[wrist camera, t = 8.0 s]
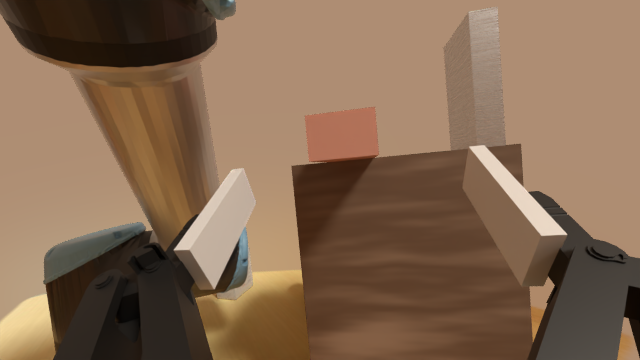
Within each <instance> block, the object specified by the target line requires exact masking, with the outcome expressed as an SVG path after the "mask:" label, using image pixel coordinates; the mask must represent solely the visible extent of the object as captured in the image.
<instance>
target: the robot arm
mask: <svg viewBox="0 0 640 360" xmlns="http://www.w3.org/2000/svg"><path fill="white" fill-rule="evenodd" d="M235 11H236V3H235V0H0V14H1V15H2V16H3V18H4V20H5V21H6V23H7V24H8V26H9V28H10V29H11V31H12V32H13V34H14V35H15V37H16V39H17V40H18V42H19V43H20V45H21V46H22V47H23V49H25V50H26V51H27V52H28V53H30V54H31V55H33V56H35V57H37V58H39V59H41V60H44V61H47V62H49V63H51V64H53V65H56V66H58V67H61V68H63V69H65V70H68V71H69V72H70V74H71V76H72V78H73V80H74V82H75V84H76V85H77V87H78V89H79V91H80V93H81V95H82V97H83V98H84V100H85V102H86V104H87V106H88V108H89V110H90V112H91V114H92V116H93V118H94V119H95V121H96V123H97V125H98V127H99V129H100V131H101V133H102V134H103V136H104V138H105V140H106V142H107V144H108V146H109V148H110V149H111V151H112V153H113V155H114V157H115V159H116V161H117V163H118V165H119V166H120V168H121V170H122V172H123V174H124V176H125V177H126V180H127V181H128V183H129V185H130V187H131V189H132V191H133V193H134V195H135V197H136V198H137V200H138V202H139V204H140V206H141V208H142V210H143V212H144V213H145V215H146V217H147V219H148V221H149V223H150V225H151V227H152V229H153V230H152V231H145V230H146V227H145V226H144V224H143V223H141V222H137V223H132V224H126V225H122V226H117V227H113V228H109V229H105V230H102V231H98V232H94V233H91V234H87V235H84V236H81V237H77V238H74V239H71V240H68V241H65V242H63V243H60V244H58V245H56V246H54V247H52V248H51V249H50V250H49V251H48V252H47V253H46V255H45V258H44V278H45V279H44V281H43V282H44V284H45V285H46V291H47V298H48V304H49V311H50V317H51V324H52V331H53V337H54V343H55V351H56V355H55V357H54V359H53V360H213V358H212V354H211V351H210V348H209V344H208V341H207V337H206V334H205V330H204V327H203V324H202V320H201V317H200V313H199V310H198V306H197V303H196V300H195V298H198V297H202V296H207V295H211V294H216V293H225V292H227V291H229V290H232V289H235V288H239V287H241V286H242V285H243V284H244V283H245V281H246V278H247V274H248V240H247V232H246V227H245V225H246V223H247V221H248V219H249V217H250V215H251V212H252V210H253V208H254V206H255V204H256V201H255V198H254V195H253V193H252V190H251V187H250V185H249V182H248V180H247V177H246V174H245V171H244V169H243V168H241V169H232V170H231V172H230V173H229V175H228V176H227V177H226V179H225V180H224V181H223V183H222V184H221V186H220V185H219V180H218V174H217V167H216V160H215V154H214V148H213V141H212V135H211V129H210V123H209V116H208V110H207V104H206V97H205V91H204V85H203V79H202V72H201V66H200V62H201V61H202V60H203V59H204V58H205V57H206V56H207V55H208V54H209V53H210V52H211V51H212V50H213V49H214V48H215V46H216V44H217V32H216V21H215V18H216V19H218V20H224V19H225V18H226V17H229V16H233V15H234V14H235ZM462 188H463V190H464V191H465V193H466V195H467V196H468V198H469V200H470V201H471V203H472V205H473V206H474V208H475V210H476V211H477V213H478V215H479V217H480V218H481V220H482V222H483V223H484V225H485V227H486V228H487V230H488V232H489V233H490V235H491V237H492V238H493V240H494V242H495V243H496V245H497V247H498V248H499V250H500V252H501V253H502V255H503V257H504V258H505V260H506V262H507V263H508V265H509V267H510V268H511V270H512V272H513V273H514V275H515V277H516V278H517V280H518V282H519V283H520V285H521V286H544V284H545V282H546V280H547V278H548V276H549V278H550V279H551V280H552V282H553V283H554V285H555V286H554V288H553V290H552V292H551V294H550V296H549V298H548V300H547V303H548V304H547V307H546V309H545V312H544V315H543V318H542V320H541V323H540V326H539V328H538V331H537V334H536V337H535V339H534V342H533V345H532V347H531V350H530V353H529V356H528V358H527V360H617V357H618V350H619V344H620V337H621V331H622V324H623V318H624V317H626V318H629V321H630V325H631V328H632V332H633V336H634V339H635V343H636V346H637V350H638V354H639V357H640V258H634V257H630V256H628V255H627V254H626V253H625V252H624V251H623V250H621V249H619V248H618V247H617V246H615V245H612V244H610V243H607V242H605V241H600V240H596V239H593V238H592V237H591V236H590V235H589V234H588V233H587V232H586V231H585V230H584V229H583V228H582V227H581V226H579V224H578V223H576V221H575V220H573V218H571V217H570V216H569V215H567V213H566V212H565V211H564V210H563V209H562V208H560V206H559V205H558V204H557V203H556V202H555V201H554V200H553V199H552V198H550V197H549V196H547V195H545V194H543V193H541V192H539V191H534V192H527V191H526V190H525V188H524V187H523V186H522V185H521V184H520V183H519V182H518V181H517V180H516V179H515V178H514V177H513V176H512V174H511V173H510V172H509V171H508V170H507V169H506V168H505V167H504V166H503V165H502V164H501V163H500V162H499V161H498V159H497V158H496V157H495V156H494V155H493V154H492V153H491V152H490V151H489V150H488V149H487V148H486V147H485V145H480V146H470V147H469V148H468V155H467V161H466V168H465V174H464V181H463V187H462Z"/></svg>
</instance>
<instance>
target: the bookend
mask: <svg viewBox="0 0 640 360" xmlns="http://www.w3.org/2000/svg"><path fill="white" fill-rule="evenodd" d="M444 59H445V74H446V87H447V101H448V116H449V129H450V143H451V150H462V149H468V148H469V147H470V146H480V145H485V147H493V146H503V145H506V140H505V124H504V109H503V91H502V76H501V59H500V43H499V27H498V10H497V7H493V8H487V9H482V10H476V11H471V12H468V14H467V15H466V16H465V18H464V19H463V21H462V22H461V24H460V25H459V27H458V28H457V29H456V31H455V33H454V34H453V35H452V37H451V38H450V40H449V41H448V43H447V44H446V46H445V47H444Z"/></svg>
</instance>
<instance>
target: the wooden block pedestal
mask: <svg viewBox="0 0 640 360" xmlns="http://www.w3.org/2000/svg"><path fill="white" fill-rule="evenodd" d="M486 148H487V149H488V150H489V151H490V152H491V153H492V154H493V155H494V156H495V157H496V158H497V159H498V161H499V162H500V163H501V164H502V165H503V166H504V167H505V168H506V169H507V170H508V171H509V172H510V173H511V174H512V176H513V177H514V178H515V179H516V180H517V181H518V182H519V183H520V184H521V185H522V186H523V171H522V154H521V144H514V145H503V146H493V147H486ZM467 155H468V149H462V150H451V151H442V152H431V153H420V154H411V155H400V156H389V157H379V158H369V159H358V160H348V161H338V162H327V163H318V164H307V165H296V166H292V176H293V186H294V196H295V207H296V217H297V227H298V237H299V248H300V256H301V257H300V258H301V268H302V278H303V288H304V299H305V309H306V319H307V329H308V339H309V350H310V360H527V358H528V356H529V353H530V350H531V347H532V345H533V340H532V323H531V306H530V291H529V290H530V289H529V286H521V285H520V283H519V282H518V280H517V278H516V277H515V275H514V273H513V272H512V270H511V268H510V267H509V265H508V263H507V262H506V260H505V258H504V257H503V255H502V253H501V252H500V250H499V248H498V247H497V245H496V243H495V242H494V240H493V238H492V237H491V235H490V233H489V232H488V230H487V228H486V227H485V225H484V223H483V222H482V220H481V218H480V217H479V215H478V213H477V211H476V210H475V208H474V206H473V205H472V203H471V201H470V200H469V198H468V196H467V195H466V193H465V191H464V190H463V188H462V187H463V181H464V174H465V168H466V161H467Z"/></svg>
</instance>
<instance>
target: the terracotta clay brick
mask: <svg viewBox="0 0 640 360" xmlns="http://www.w3.org/2000/svg"><path fill="white" fill-rule="evenodd" d="M305 122H306V133H307V144H308V154H309V161H310V162H338V161H348V160H358V159H369V158H375V157H376V156H378V155H379V151H378V139H377V125H376V114H375V107H368V108H362V109H353V110H345V111H337V112H330V113H323V114H314V115H307V116H305Z"/></svg>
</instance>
